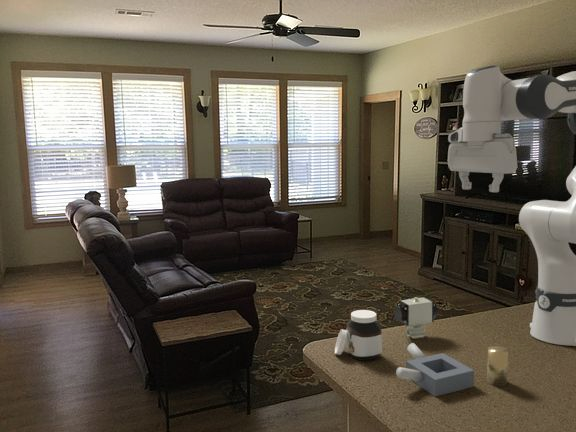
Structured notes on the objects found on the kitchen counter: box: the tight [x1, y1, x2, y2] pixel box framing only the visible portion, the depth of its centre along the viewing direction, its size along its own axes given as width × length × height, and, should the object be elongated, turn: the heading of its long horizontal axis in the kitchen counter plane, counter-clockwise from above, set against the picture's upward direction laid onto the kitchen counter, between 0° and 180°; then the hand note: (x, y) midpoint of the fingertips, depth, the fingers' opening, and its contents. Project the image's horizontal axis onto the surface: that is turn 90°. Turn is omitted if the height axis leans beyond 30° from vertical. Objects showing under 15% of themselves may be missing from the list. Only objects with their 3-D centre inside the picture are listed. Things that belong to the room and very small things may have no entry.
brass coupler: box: [486, 345, 509, 387], centre depth 119 cm, size 4×4×8 cm
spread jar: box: [334, 309, 383, 361], centre depth 136 cm, size 12×11×12 cm
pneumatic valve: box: [394, 296, 439, 340], centre depth 148 cm, size 6×12×12 cm, turn 106°
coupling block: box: [395, 342, 475, 397], centre depth 122 cm, size 17×17×6 cm
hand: (479, 190), depth 125 cm, fingers open, 8 cm apart
